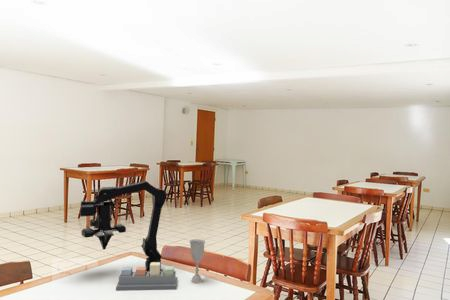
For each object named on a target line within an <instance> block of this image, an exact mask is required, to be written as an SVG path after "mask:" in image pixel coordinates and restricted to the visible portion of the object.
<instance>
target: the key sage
mask: <svg viewBox="0 0 450 300" xmlns="http://www.w3.org/2000/svg"><path fill="white" fill-rule="evenodd" d="M163 271H164V276H168V275H174V271H175V265H173V266H172V265H171V266H166V265H165V266H164V269H163Z"/></svg>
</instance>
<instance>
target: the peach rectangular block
mask: <svg viewBox="0 0 450 300" xmlns="http://www.w3.org/2000/svg"><path fill="white" fill-rule="evenodd" d="M135 272H136V276H146V272H147V271H146V267H145V266H136V268H135Z"/></svg>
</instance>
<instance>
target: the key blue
mask: <svg viewBox="0 0 450 300" xmlns="http://www.w3.org/2000/svg"><path fill="white" fill-rule="evenodd" d="M132 272H133V266H122V268H121V270H120V274H121V276H132Z"/></svg>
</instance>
